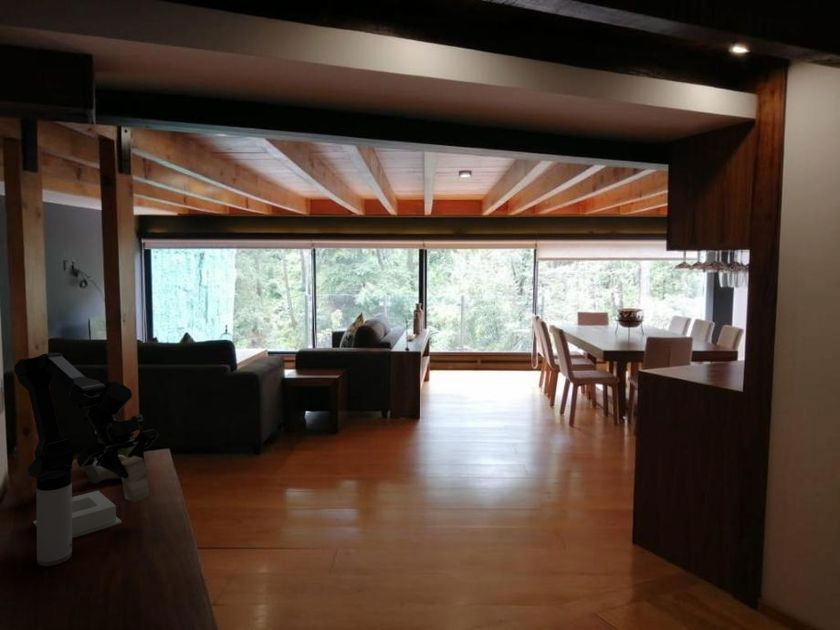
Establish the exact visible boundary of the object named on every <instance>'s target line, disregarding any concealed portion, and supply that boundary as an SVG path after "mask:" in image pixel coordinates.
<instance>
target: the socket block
mask: <svg viewBox="0 0 840 630" xmlns="http://www.w3.org/2000/svg"><path fill="white" fill-rule="evenodd" d="M122 523H123V521H122V520H121V519H120V518H119V517H117V505H116V504H114V503H113V502H112V501H111V500H110V499H109V498H108V497H106V496H105V495H104V494H103V493H101V491H100V490H95V491H92V492H88V493H84V494H80V495H75V496H72V539H74V538H79V537H81V536H84V535H88V534H91V533H94V532H98V531H101V530H104V529H107V528H111V527H114V526H117V525H118V526H119V525H121V524H122ZM33 524H34V526H35V527H36V528H37V519H36V520H33Z"/></svg>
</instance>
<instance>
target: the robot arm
mask: <svg viewBox="0 0 840 630" xmlns="http://www.w3.org/2000/svg"><path fill="white" fill-rule="evenodd" d="M13 368H14V369H13V370H14V371H13V372H14V375H16V377H17V381H18V383H19V384H20V385H21V386H22V387H23V388H25V390H27V392H28V396H29V400H30V404H31V409H32V414H33V418H34V422H35V423H34V424H35V427H36V433H37V437H38V443H37V445H36V447H35V450H34V453H33V454H34V459H33V461H32V462H31V464H30V465H29V466H28V467H27V471H28V472H27V473H28V476H29V477H32V478H35V479H37V475H38V474H39V473H41V472H43V471H45V470H47V469H50V468H54V467H60V466H64V465H70V466H72V465H73V461H74V458H75V455H74V449H73V447H72V441H71V439H70V438H64V437H63V436H62V435H61V432H60V428H59V422H58V417H57V414H56V409H55V405H54V399H53V396H52V391H51V387H50V385H51V383H52V381H53V379H56V380H57V381H58V382H59V383H60V384H62V386H63V387H64V388H66V389H67V391H68V392H69V393H68V398H69V400H70V401H71V402H72V404H73V405H74V407H76V408H77V409H85V408H89V407H90V408H89V409H88V410H86V411H85V414H84V416H83V422H84V423H87V422H90V424H91V425H92V427H93V429H94V432H95V431H96V433H97V434H95V436H94V439H95V440H97V441H98V439H100V440H101V442H102V443H99V442H98V443H95V444H91V445H88V446H85V447H84V449H83V450H82V451H81V452H80V454H79V455H78V456H77V458H76V462H77V465H78V466H79V468H80V469H85V467H87V466H90V465H92V464H93V463H94V461H98V462H97V463H96V466H101V467H104V468H106V469H108V470H110V471H112V472H114V473H116V474H117V475H119V476H121V477H122V478H124V479H126V478H127V477H128V474H127V472H126V470H125V468H124V466H123V465H122V463H121V461H120V459H119V458H118V451H120V450H123V449H126V448H128V449H129V450H130V453H129V454H128V456H129V458H130V457H132V456H137V457H140V458H143V459H144V464H145V465H146V461H145V455H144V453H145V449H148V448H149V447H151V446H152V444H154V442H155V441H156V440H157V439H158V437H159V436H160V435H159V433H158V432H157V430H156V429H154V428H150V429H146V430H143V431H140V430H142V427H143V426H145V425H146V420H145V417H143V415H142V414H141V413H139V414H134V415H133V416H131V417H130V418H131V419H125V420H124V419H119V417H118V415H117V414H119V413H120V412H122V410H123V408H124V407H125V406H126V405H127V404H128V402H129V401H130V400H131V398H132V397H133V393H132V390H131V389H130V388H129V387H127V386H126V385H124V384H121V383H119V382H118V381H117V380H113V381H108V383H107V384H106V385H105V384H104V383H102V382H100V381H99V380H97V379H95V378H94V379H93V378H90V377H86V376H85V375H84V374H83V373H82V372H80V371H79V370H78V369H77V368H75V366H73V364H71V363H70V362H69V361H68V360H67V359H65V356H64V354H63V353H62V352H50V353H42V354H39V355H38V356H35V357H31V358H30V357H29V358H20V359H19V360H18V361H17V363H15V365H14V367H13ZM136 431H140V432H139V433H138V434H137V435H136V437H135V438H134V436H133V435H135V432H136ZM133 432H134V433H133ZM132 436H133V438H132V439H131V440H130V437H132ZM95 459H96V460H95ZM72 467H73V466H72ZM122 478H121V479H122ZM36 492H37V490H36V491H35V493H36ZM35 500H36V501H37V498H36V497H35Z"/></svg>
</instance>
